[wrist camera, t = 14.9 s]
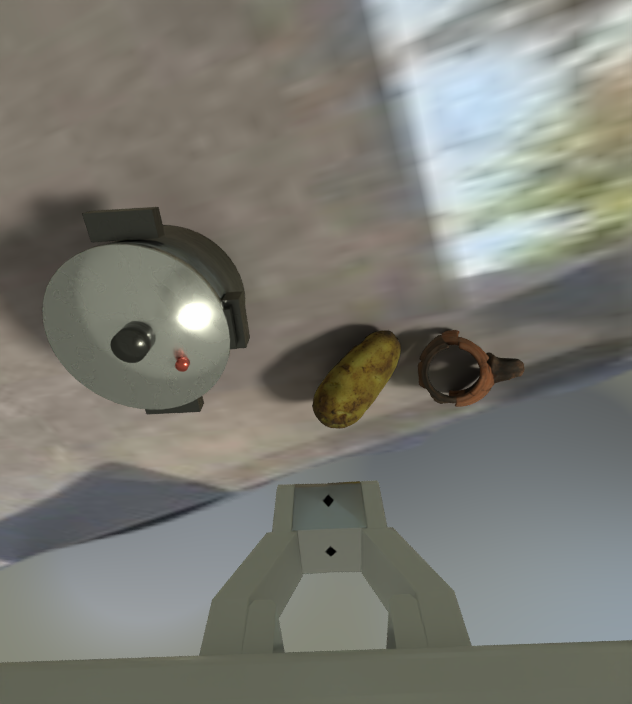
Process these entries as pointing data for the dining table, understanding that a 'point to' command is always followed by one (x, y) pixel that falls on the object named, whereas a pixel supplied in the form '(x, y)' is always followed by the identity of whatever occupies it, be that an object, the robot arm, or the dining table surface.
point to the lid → (138, 325)
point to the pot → (184, 245)
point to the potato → (356, 380)
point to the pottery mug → (488, 363)
